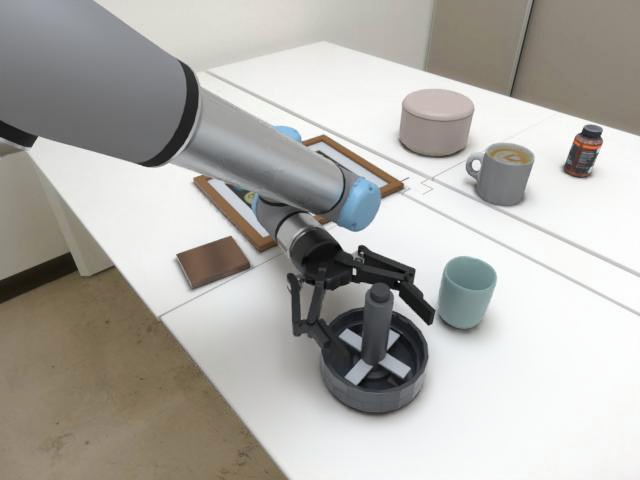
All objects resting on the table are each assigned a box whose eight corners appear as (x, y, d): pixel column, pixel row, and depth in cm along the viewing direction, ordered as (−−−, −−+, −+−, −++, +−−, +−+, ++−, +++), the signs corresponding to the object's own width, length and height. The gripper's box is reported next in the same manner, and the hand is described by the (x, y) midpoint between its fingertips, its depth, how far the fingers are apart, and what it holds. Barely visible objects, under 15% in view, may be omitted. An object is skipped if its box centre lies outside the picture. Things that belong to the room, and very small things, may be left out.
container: (384, 137, 125) (388, 95, 117) (435, 122, 131) (442, 82, 124) (427, 165, 112) (434, 121, 105) (481, 148, 119) (491, 105, 112)
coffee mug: (529, 192, 103) (543, 152, 97) (509, 211, 97) (522, 170, 91) (476, 171, 110) (485, 133, 104) (454, 188, 105) (462, 148, 98)
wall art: (404, 183, 104) (259, 246, 87) (403, 188, 105) (259, 252, 88) (323, 133, 123) (192, 177, 106) (323, 138, 124) (193, 183, 107)
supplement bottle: (595, 176, 108) (614, 132, 101) (573, 179, 107) (590, 135, 100) (579, 164, 113) (596, 121, 105) (557, 166, 112) (573, 123, 105)
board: (192, 289, 80) (190, 283, 79) (177, 260, 86) (175, 254, 85) (250, 267, 84) (249, 261, 83) (232, 241, 90) (231, 235, 89)
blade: (382, 414, 60) (394, 339, 50) (319, 369, 66) (317, 293, 56) (424, 361, 67) (441, 284, 57) (363, 324, 72) (369, 248, 62)
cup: (426, 322, 74) (435, 277, 68) (445, 293, 79) (455, 249, 72) (472, 344, 70) (487, 299, 64) (489, 312, 75) (504, 268, 69)
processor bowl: (358, 436, 59) (360, 413, 56) (303, 354, 69) (302, 331, 66) (444, 385, 65) (451, 361, 61) (382, 316, 75) (385, 293, 71)
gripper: (372, 239, 80) (458, 320, 65) (239, 292, 70) (307, 400, 56) (375, 204, 75) (468, 282, 61) (233, 255, 65) (305, 363, 51)
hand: (391, 339), depth 58 cm, fingers open, 13 cm apart
